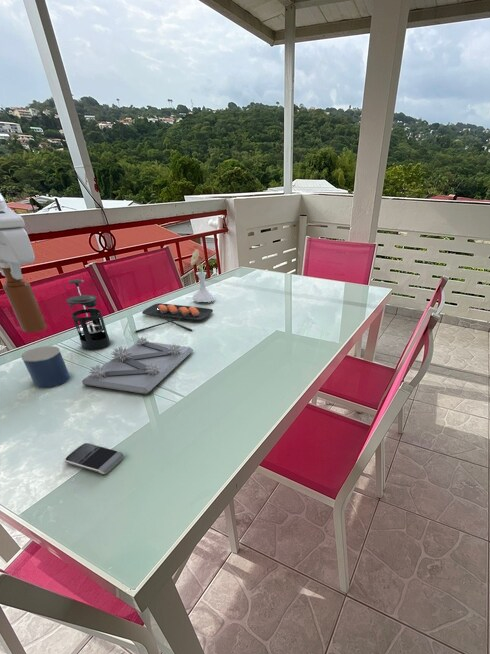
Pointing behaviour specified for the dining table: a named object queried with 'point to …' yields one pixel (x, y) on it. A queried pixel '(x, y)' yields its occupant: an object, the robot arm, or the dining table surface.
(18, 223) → the robot arm
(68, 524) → the dining table surface
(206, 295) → the flower in vase
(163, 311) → the sushi plate
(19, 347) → the dining table surface
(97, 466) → the cell phone
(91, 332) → the french press
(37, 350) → the tin can
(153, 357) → the decorative plate
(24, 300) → the bottle
